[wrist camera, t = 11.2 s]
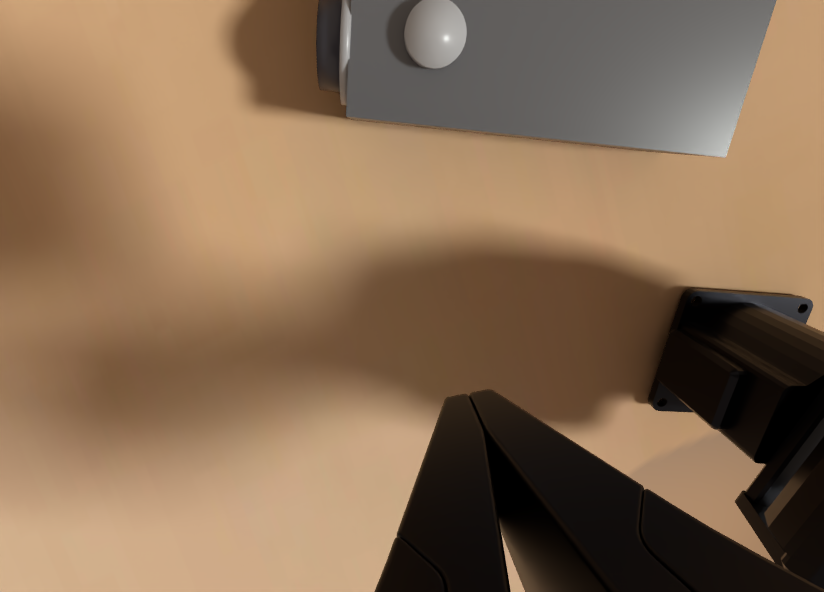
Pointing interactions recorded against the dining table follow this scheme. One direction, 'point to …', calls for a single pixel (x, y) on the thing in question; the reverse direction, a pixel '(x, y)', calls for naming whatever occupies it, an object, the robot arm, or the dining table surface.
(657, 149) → the block
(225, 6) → the dining table surface
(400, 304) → the dining table surface
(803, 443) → the robot arm
